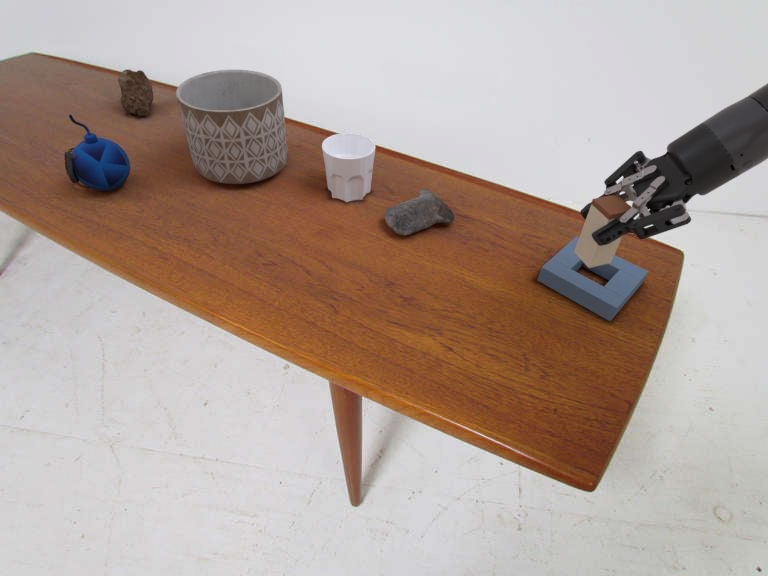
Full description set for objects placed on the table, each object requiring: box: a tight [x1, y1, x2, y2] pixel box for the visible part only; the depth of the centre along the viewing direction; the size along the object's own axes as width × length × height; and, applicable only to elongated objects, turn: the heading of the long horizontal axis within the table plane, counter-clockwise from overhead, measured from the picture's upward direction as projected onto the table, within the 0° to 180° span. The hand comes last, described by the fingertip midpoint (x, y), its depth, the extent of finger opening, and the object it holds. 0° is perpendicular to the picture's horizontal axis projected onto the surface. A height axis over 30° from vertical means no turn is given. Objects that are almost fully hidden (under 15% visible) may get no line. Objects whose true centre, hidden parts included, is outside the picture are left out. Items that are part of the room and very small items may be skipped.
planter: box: [175, 69, 289, 185], centre depth 100 cm, size 19×19×16 cm
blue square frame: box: [536, 235, 649, 322], centre depth 83 cm, size 13×12×3 cm
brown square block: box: [574, 194, 632, 268], centre depth 67 cm, size 4×4×9 cm
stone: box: [384, 188, 455, 237], centre depth 93 cm, size 12×5×10 cm
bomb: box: [64, 114, 131, 192], centre depth 92 cm, size 10×11×15 cm
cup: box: [321, 132, 377, 203], centre depth 97 cm, size 10×10×10 cm
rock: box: [117, 69, 154, 118], centre depth 119 cm, size 10×6×10 cm
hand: (589, 228), depth 66 cm, fingers closed on brown square block, 4 cm apart
